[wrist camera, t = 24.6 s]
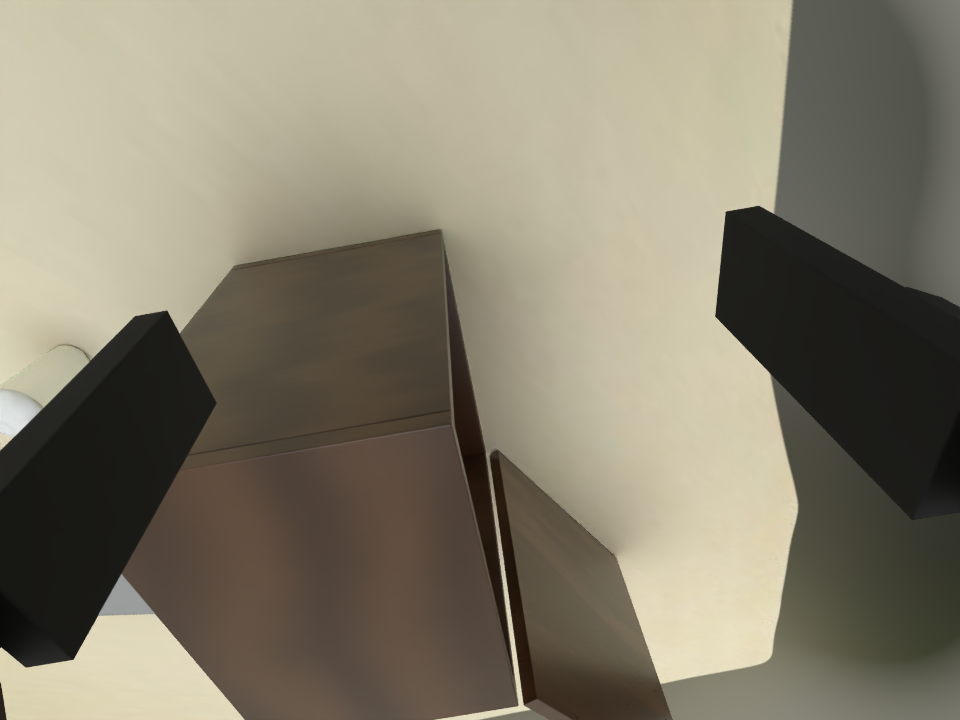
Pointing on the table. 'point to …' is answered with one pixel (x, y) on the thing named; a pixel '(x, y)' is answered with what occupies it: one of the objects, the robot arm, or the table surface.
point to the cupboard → (335, 497)
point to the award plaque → (124, 601)
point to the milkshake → (37, 386)
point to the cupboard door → (570, 612)
